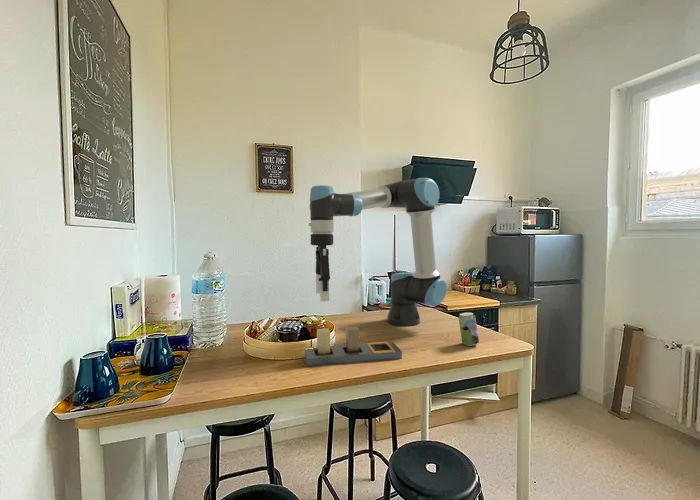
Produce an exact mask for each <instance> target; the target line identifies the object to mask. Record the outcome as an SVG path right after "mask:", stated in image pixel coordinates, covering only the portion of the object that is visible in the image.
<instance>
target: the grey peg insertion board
mask: <svg viewBox="0 0 700 500" xmlns="http://www.w3.org/2000/svg"><path fill="white" fill-rule="evenodd" d="M315 347H316V348H314V347H312V348H313V349H307V350H305V349H304V357H305V362H306V367H319V366H329V365H330V366H331V365H340V364H341V365H342V364H343V365H344V364H353V363H364V362H365V363H367V362H376V361H377V362H378V361H388V360H401V359H402V358H403V354H402V353H403V351H402V350H401V349H400V348H399V347H398V346H397V344H396V343H395V342H394V341H377V342H376V341H375V342H367V343H359V351H360V352H359V353H346V344H344V345H343V344H342V345H330V355H321V356H317V346H315Z"/></svg>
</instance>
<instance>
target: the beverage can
mask: <svg viewBox="0 0 700 500" xmlns="http://www.w3.org/2000/svg"><path fill="white" fill-rule="evenodd" d="M476 319H477V318H476V315H475V314H474V313H473V312H461V313H459V317H458V322H459V330H460V336H461V343H462V344H463V345H465V346H468V347H469V346H470V347H471V346H476V345H478V344H479V342H480V339H479V332H478V327H477V320H476Z"/></svg>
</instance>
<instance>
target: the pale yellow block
mask: <svg viewBox="0 0 700 500" xmlns="http://www.w3.org/2000/svg"><path fill="white" fill-rule="evenodd" d="M330 346H331V331H330V328H329V327H326V328H317V329H316V347H317V356H321V355H330Z"/></svg>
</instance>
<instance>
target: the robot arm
mask: <svg viewBox="0 0 700 500" xmlns="http://www.w3.org/2000/svg"><path fill="white" fill-rule="evenodd" d="M309 197H310V198H309V212H310V213H309V214H310V223H309V222H308V226H309V227H310V232H311V234H310V245H311V246H314V247H315V246H316V248H315V270H314V271H315V282H316V283H315V287H316V289H315V291H316V294H319V298H320V299H319V302H330V279H331V273H330V258H329V255H330V250H329V248H327V246H333V245H334V235H333V233H334V217H357V216H359V215H360V214H361V212H362V211H363V210H368V209H369V210H370V209H374V208H378V207H379V208H382V209H387V208H399V209H400V208H402V209H403V208H404V209H405V210H406V214H407V215H408V216H409V217H410V224H411V235H412V247H413V256H414V267H415V271H407V272H397V273H393V274H392V275H391V277H390V307H389V310H388V314H387V317H386V319H387V323H389V324H390V325H395V326H400V327H401V326H403V327H406V326H408V327H409V326H410V327H411V326H416V325H419V324H420V322H421V316H420V313H419V310H418V307H417V303H418V304H421V305H426V306H433V307H436V306H439V305H441V304H442V302H443V301H444V300H445V298H446V295H447V293H448V292H447V290H448V285H447V283H446V281H445V280H444V279H442V278H441V273H440V271H438V270H437V269H436V268H437V267H436V266H437V265H436V255H435V243H434V242H435V241H434V234H433V232H434V231H433V221H432V214H433V212H434V211H435V209H436V208H435V206H436V205H438V203H439V200H440V189H439V186H438V184H437V183H436V182H435V181H434V179H432V178H429V177H419V178H412V179H406V180H405V179H404V180H400V181H395V182H392V183H390V184H385V185H380V186H378V187H377V188H374V189H366V190H360V191H352V192H346V193H336V192H334V188H333V186H331V185H321V184H320V185H313V186H312V187H311V188H310V195H309Z"/></svg>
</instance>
